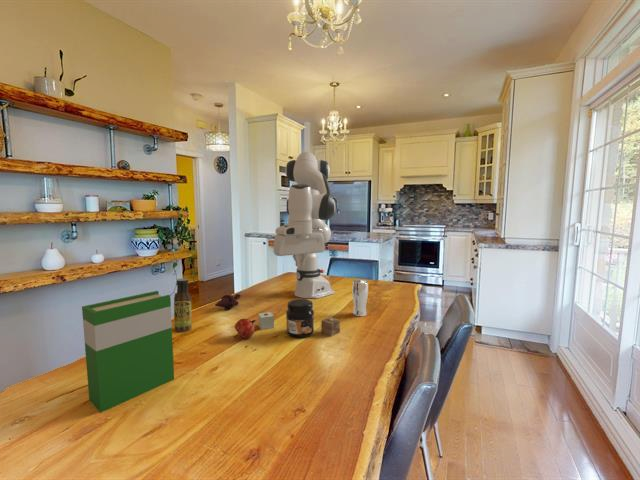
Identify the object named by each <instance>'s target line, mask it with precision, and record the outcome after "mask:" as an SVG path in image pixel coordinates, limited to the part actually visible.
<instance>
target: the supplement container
mask: <svg viewBox="0 0 640 480" xmlns="http://www.w3.org/2000/svg"><path fill="white" fill-rule="evenodd" d="M286 305H287V310H286V311H285V315H286V317H285V318H286V334H287V335H288V336H290V337H291V338H297V339H298V338H299V339H303V338H308V337H310V336H312V335H313V334H314V331H315V328H314V324H315V323H314V320H315V318H314V317H315V316H314V315H315V309H313V308H314V307H313V305H314V303H313V301H312V300H309V299H307V298H296V299H292V300H289V301H288V302H287V304H286Z"/></svg>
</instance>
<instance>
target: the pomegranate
mask: <svg viewBox="0 0 640 480" xmlns="http://www.w3.org/2000/svg"><path fill="white" fill-rule="evenodd" d="M255 322H257V320H256V319H253V320H250V319H249V318H240V319H239V320H237V321H236V323H235V324H234V329H235V330H236V332H237V334H236V335H233V338H236V337H238V336H240V337H241V338H242V339H244V340H246V339H249V338H251V337H252V336H253V335H254V333H255V330H256V329H255V328H256V326H255V324H254V323H255Z"/></svg>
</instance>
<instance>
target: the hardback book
mask: <svg viewBox="0 0 640 480" xmlns="http://www.w3.org/2000/svg"><path fill="white" fill-rule="evenodd" d="M81 313H82V324H83V325H82V327H83V338H84V339H83V340H84V350H85V363H86V375H87V389H88V390H87V391H88V399H89V402H90V403H91V404H92V405H93V406H94V407H95V409H97V410H98V411H99V412H100V413H104V412H105V411H108V410H111V409H112V408H114V407H116V406H118V405H121V404H123V403H125V402H128V401H130V400H131V399H134V398H137V397H138V396H141V395H143V394H145V393H147V392H150V391H151V390H153V389H154V390H155V389H156V388H159V387H161V386H163V385H166V384H168V383H169V382H172V381H174V380H175V369H174V368H175V366H174V346H173V343H174V342H173V325H172V324H173V323H172V302H171V295H170V294H166V295H163V296H162V295H160V294H159V290H155V291H149V292H145V293H144V292H143V293H140V294H136V295H130V296H126V297H122V298H116V299H112V300H107V301H102V302H97V303H92V304H88V305H83V306H81Z"/></svg>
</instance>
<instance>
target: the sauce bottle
mask: <svg viewBox="0 0 640 480" xmlns="http://www.w3.org/2000/svg"><path fill="white" fill-rule="evenodd" d="M188 284H189V279H188V278H177V279H176V286H177V289H176V292H175V295H174V297H173V326H174V327H173V328H174V331H176V332H178V333H180V332H181V333H182V332H183V333H184V332H187V331H189V330H191V329H192V295H191V294H190V292H189V288H188V287H189V285H188Z"/></svg>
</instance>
